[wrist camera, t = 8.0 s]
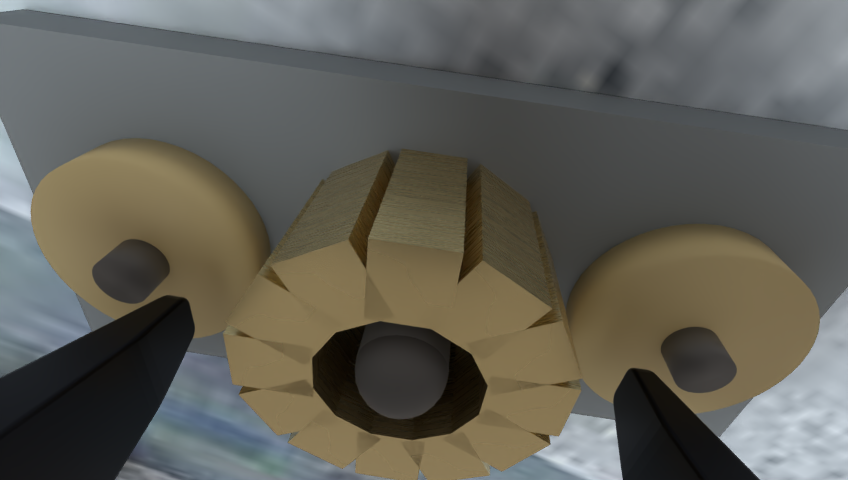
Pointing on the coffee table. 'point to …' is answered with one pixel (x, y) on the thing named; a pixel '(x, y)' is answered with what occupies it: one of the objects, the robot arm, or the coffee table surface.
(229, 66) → the gear board
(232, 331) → the brass gear
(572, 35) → the coffee table surface
